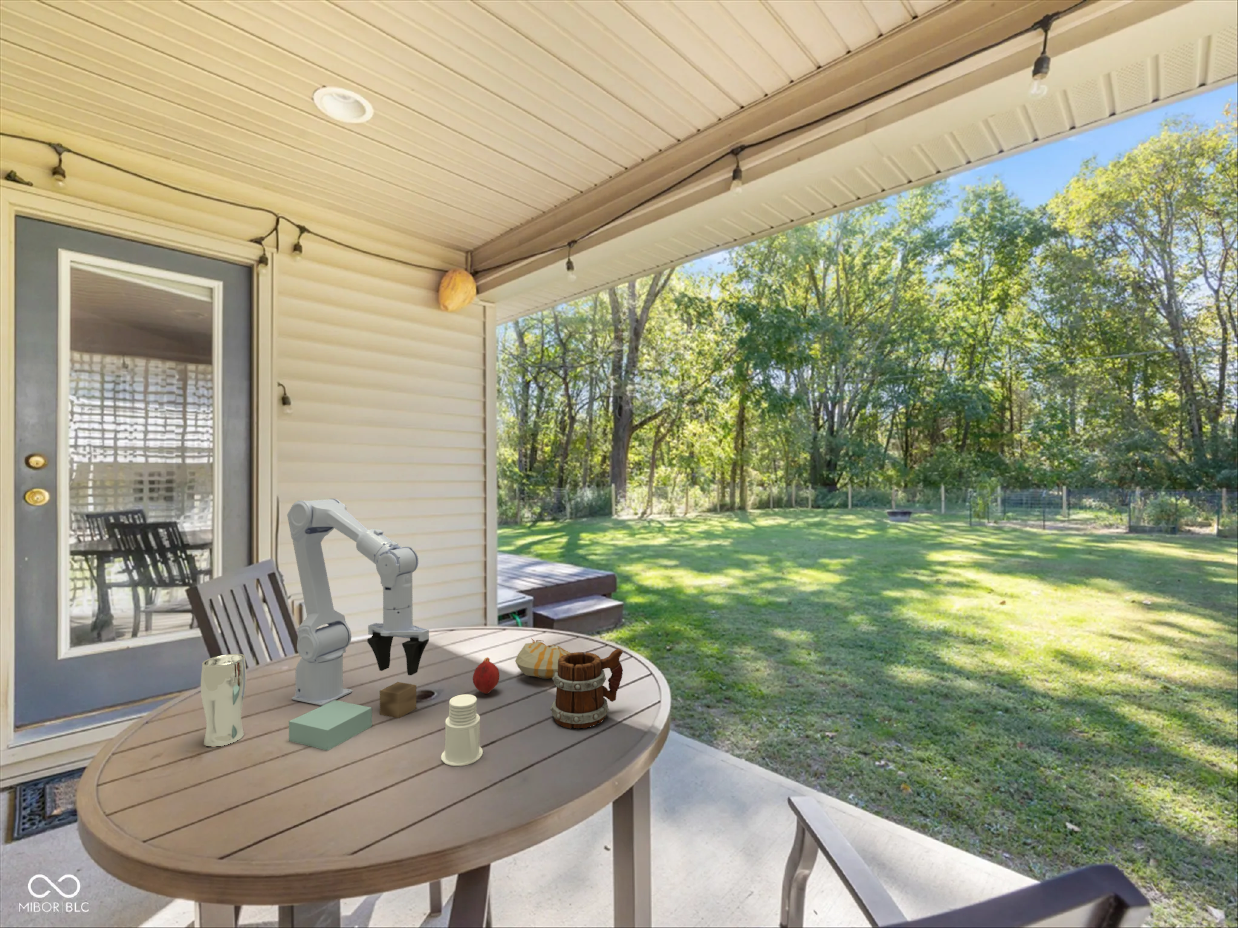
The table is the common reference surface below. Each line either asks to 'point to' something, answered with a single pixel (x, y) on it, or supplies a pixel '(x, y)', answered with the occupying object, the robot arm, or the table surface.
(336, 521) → the robot arm
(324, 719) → the riser block
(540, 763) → the table surface
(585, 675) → the mug
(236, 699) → the beer glass
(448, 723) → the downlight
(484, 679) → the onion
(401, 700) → the walnut block
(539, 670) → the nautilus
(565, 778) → the table surface
